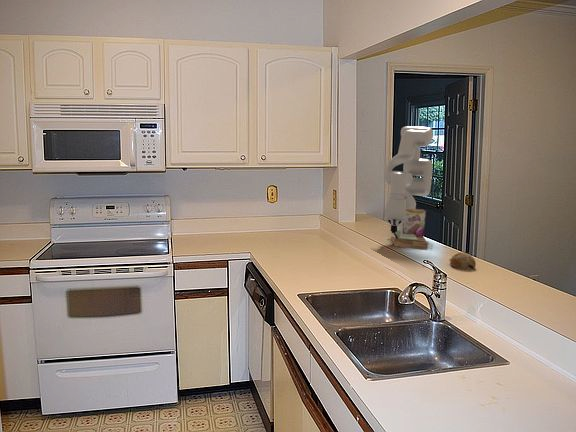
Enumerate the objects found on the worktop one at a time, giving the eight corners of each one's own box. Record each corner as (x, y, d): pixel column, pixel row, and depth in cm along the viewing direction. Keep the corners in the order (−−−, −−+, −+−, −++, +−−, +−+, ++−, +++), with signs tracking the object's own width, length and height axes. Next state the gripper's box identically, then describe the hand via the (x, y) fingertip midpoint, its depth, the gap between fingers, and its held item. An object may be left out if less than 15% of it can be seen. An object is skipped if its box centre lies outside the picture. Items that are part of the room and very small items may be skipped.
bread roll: (458, 278, 224) (467, 262, 220) (442, 262, 231) (450, 247, 227) (474, 276, 230) (483, 261, 226) (458, 261, 237) (466, 246, 233)
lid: (395, 234, 281) (396, 228, 281) (414, 236, 280) (415, 229, 280) (397, 239, 268) (398, 232, 267) (417, 240, 267) (418, 233, 266)
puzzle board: (391, 239, 284) (392, 233, 283) (422, 242, 282) (423, 235, 282) (394, 246, 266) (394, 238, 266) (427, 249, 264) (428, 241, 264)
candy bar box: (401, 239, 286) (404, 209, 283) (400, 238, 291) (403, 207, 288) (423, 241, 285) (426, 210, 282) (422, 240, 290) (425, 209, 287)
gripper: (411, 197, 275) (407, 233, 277) (381, 195, 276) (378, 230, 279) (412, 198, 267) (409, 235, 270) (382, 196, 269) (378, 233, 272)
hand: (393, 233), depth 274 cm, fingers closed
